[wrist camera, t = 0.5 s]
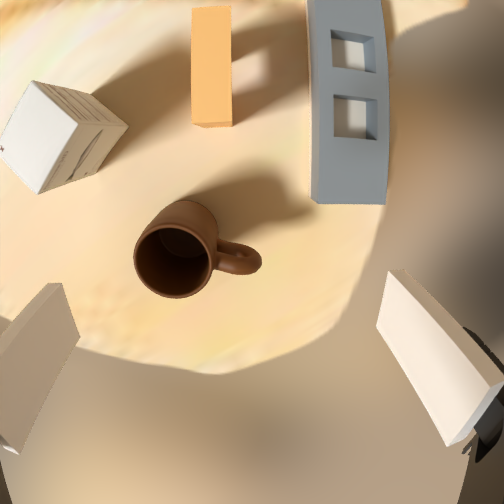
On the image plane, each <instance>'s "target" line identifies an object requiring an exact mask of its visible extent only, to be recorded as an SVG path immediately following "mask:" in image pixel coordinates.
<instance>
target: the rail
mask: <svg viewBox="0 0 504 504" xmlns="http://www.w3.org/2000/svg"><path fill="white" fill-rule="evenodd" d="M305 11H306V27H307V46H308V71H309V197H310V198H311V199H312V200H314V201H315V202H316V203H317V204H379V205H385V204H386V193H387V180H388V163H389V134H390V102H389V74H388V59H387V47H386V36H385V27H384V19H383V12H382V5H381V0H305Z"/></svg>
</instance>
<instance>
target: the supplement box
mask: <svg viewBox="0 0 504 504" xmlns="http://www.w3.org/2000/svg"><path fill="white" fill-rule="evenodd" d="M128 128H129V126H128V125H127V124H126V123H125V122H123V121H122V120H121V119H120V118H118V117H117V116H116V115H115V114H114V113H112V112H111V111H110V110H109V109H108V108H106V107H105V106H104V105H103V104H102V103H100V102H99V101H98V100H97V99H96V98H94V97H93V96H92V95H91V94H88V93H84V92H80V91H77V90H73V89H68V88H64V87H59V86H55V85H50V84H45V83H41V82H37V81H31V82H30V84H29V85H28V87H27V89H26V90H25V92H24V94H23V95H22V97H21V99H20V101H19V102H18V104H17V106H16V108H15V110H14V111H13V113H12V115H11V117H10V119H9V121H8V123H7V125H6V127H5V129H4V131H3V133H2V135H1V137H0V157H1V158H2V159H3V161H4V162H5V163H6V164H7V165H8V166H9V167H10V168H11V169H12V170H13V171H14V172H15V174H16V175H17V176H18V177H19V178H20V179H21V180H22V181H23V182H24V183H25V184H26V185H27V186H28V187H29V188H30V189H31V190H32V191H33V192H34V193H35V194H36V195H39V194H41V193H43V192H46V191H48V190H51V189H54V188H56V187H59V186H62V185H65V184H67V183H70V182H73V181H76V180H79V179H82V178H85V177H88V176H91V175H94V174H95V173H96V172H97V170H98V168H99V167H100V165H101V164H102V162H103V161H104V159H105V158H106V156H107V155H108V153H109V152H110V151H111V149H112V148H113V146H114V145H115V144H116V143H117V141H118V140H119V139H120V137H121V136H122V135H123V134H124V133H125V131H126V130H127V129H128Z"/></svg>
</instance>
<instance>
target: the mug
mask: <svg viewBox="0 0 504 504" xmlns="http://www.w3.org/2000/svg"><path fill="white" fill-rule="evenodd" d="M133 259H134V266H135V269H136V272H137V274H138V276H139V278H140V280H141V281H142V282H143V284H144V285H145V286H146V287H147V288H149V289H150V290H151V291H153V292H154V293H156V294H158V295H160V296H163V297H167V298H175V299H178V298H186V297H189V296H192V295H194V294H196V293H197V292H199V291H200V290H201V289H203V288H204V286H205V285H206V284H207V283H208V281H209V279H210V277H211V274H212V271H213V270H214V269H216V270H220V271H223V272H227V273H231V274H235V275H248V274H252V273H255V272H256V271H257V270H258V269H259V268H260V267H261V265H262V258H261V256H260V254H259V253H258V252H257V251H256V250H254V249H253V248H251V247H249V246H246V245H243V244H238V243H231V242H227V241H223V240H221V239H219V238H218V227H217V223H216V220H215V218H214V217H213V215H212V214H211V212H210V211H209V210H208V209H207V208H205V207H204V206H202V205H201V204H199V203H196V202H193V201H178V202H174V203H172V204H170V205H168V206H167V207H165V208H164V209H163V210H162V211H161V212H160V213H159V214H158V215H157V216H156V217H155V218H154V219H153V220H152V221H151V223H150V224H149V225H148V226H147V227H146V228H145V230H144V231H143V232H142V234H141V236H140V238H139V239H138V241H137V243H136V246H135V249H134V256H133Z"/></svg>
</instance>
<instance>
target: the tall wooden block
mask: <svg viewBox="0 0 504 504" xmlns="http://www.w3.org/2000/svg"><path fill="white" fill-rule="evenodd" d="M191 115H192V124H195V125H198V126H201V127H203V128H213V127H232V82H231V6H214V7H200V8H192V28H191Z"/></svg>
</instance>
